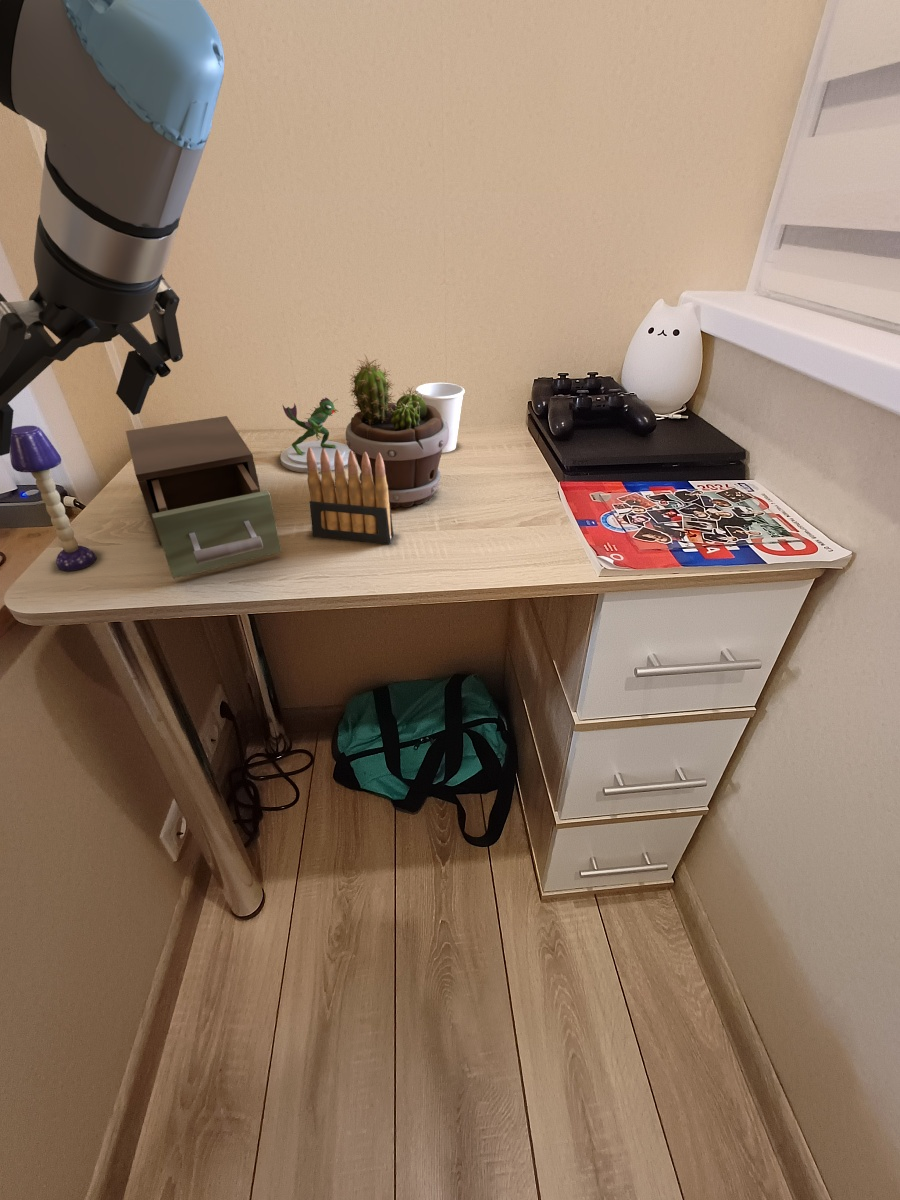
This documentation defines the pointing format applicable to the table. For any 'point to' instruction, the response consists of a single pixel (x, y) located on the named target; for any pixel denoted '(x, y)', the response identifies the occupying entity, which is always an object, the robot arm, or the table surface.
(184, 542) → the drawer
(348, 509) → the ammunition clip
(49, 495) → the toy lamp
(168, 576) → the table surface
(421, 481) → the flowerpot
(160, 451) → the cabinet
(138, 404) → the robot arm
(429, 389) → the dixie cup
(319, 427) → the monster figurine
